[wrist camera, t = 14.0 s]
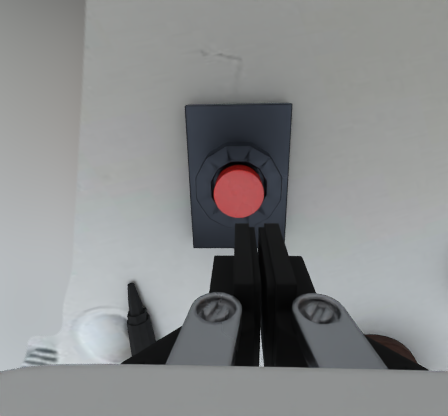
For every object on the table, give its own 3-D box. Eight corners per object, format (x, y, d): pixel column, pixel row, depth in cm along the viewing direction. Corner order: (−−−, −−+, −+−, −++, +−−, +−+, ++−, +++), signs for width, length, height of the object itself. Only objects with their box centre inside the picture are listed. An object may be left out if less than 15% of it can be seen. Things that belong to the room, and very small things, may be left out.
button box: (188, 104, 25) (180, 106, 21) (287, 102, 24) (297, 104, 21) (196, 237, 29) (190, 258, 25) (280, 237, 29) (287, 258, 25)
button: (214, 164, 23) (212, 170, 21) (262, 164, 23) (264, 169, 21) (215, 209, 24) (214, 218, 22) (261, 209, 24) (263, 218, 22)
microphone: (127, 270, 34) (157, 415, 38) (88, 296, 29) (128, 461, 33) (169, 272, 32) (196, 426, 36) (135, 301, 27) (171, 476, 31)
